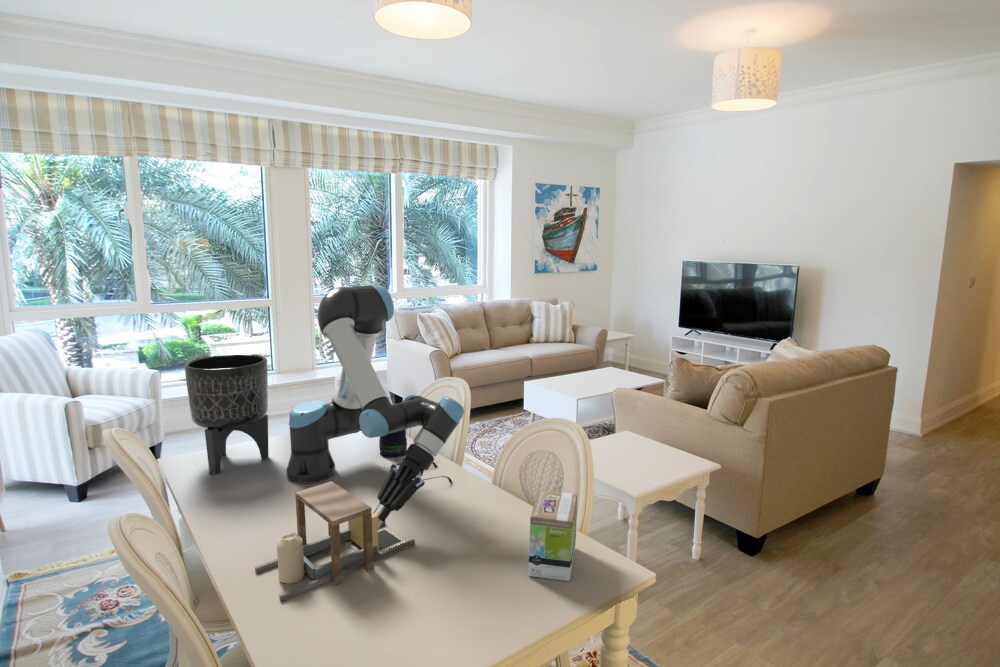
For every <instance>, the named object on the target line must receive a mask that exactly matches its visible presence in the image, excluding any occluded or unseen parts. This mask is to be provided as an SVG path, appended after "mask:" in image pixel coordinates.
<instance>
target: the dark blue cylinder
mask: <svg viewBox="0 0 1000 667" xmlns="http://www.w3.org/2000/svg"><path fill="white" fill-rule="evenodd" d="M406 430H407V429H405V430H400V431H397V432H393V433H390V434H387V435H385V436H379V438H378V439H379V440H378V443H379V444H378V448H379V456H380V455H381V456H380V457H381V458H384V457H385V458H386V459H397V458H402V457H405V455H404V453H405V452H406V450H407V449H408V448H407V447H408V440H407V439H408V438H407V432H406Z"/></svg>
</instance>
